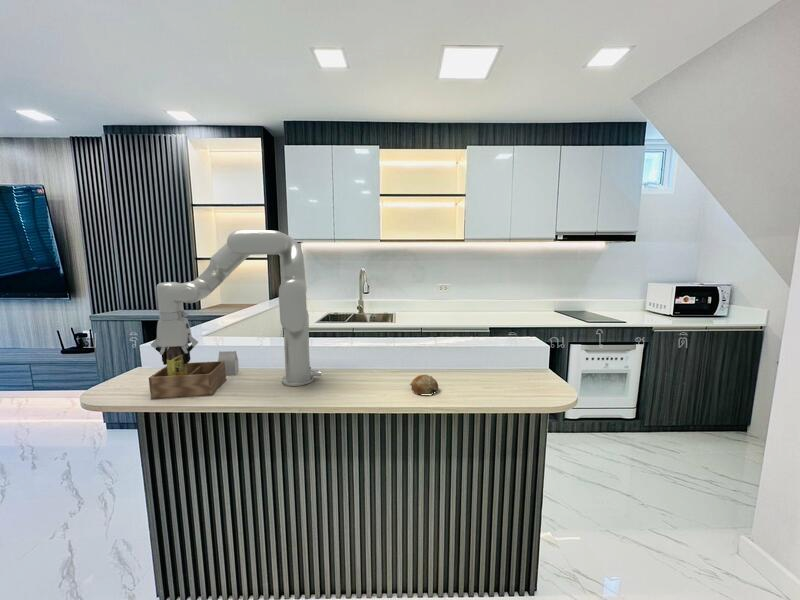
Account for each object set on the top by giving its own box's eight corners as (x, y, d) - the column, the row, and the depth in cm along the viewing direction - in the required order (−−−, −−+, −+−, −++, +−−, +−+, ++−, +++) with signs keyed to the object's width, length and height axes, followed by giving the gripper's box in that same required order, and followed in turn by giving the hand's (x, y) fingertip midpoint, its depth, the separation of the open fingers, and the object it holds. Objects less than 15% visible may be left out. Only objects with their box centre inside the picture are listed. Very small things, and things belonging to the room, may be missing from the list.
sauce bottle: (178, 388, 122) (173, 336, 119) (164, 387, 123) (158, 335, 120) (193, 381, 128) (188, 331, 125) (179, 380, 130) (174, 330, 127)
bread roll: (422, 406, 122) (430, 390, 118) (403, 388, 127) (410, 372, 124) (438, 398, 129) (446, 382, 126) (419, 380, 135) (426, 365, 131)
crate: (226, 380, 136) (224, 361, 135) (212, 395, 121) (210, 374, 120) (172, 382, 132) (170, 363, 131) (150, 399, 118) (148, 377, 117)
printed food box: (235, 375, 141) (233, 352, 139) (218, 375, 140) (217, 352, 139) (238, 372, 145) (237, 350, 143) (222, 372, 144) (221, 350, 143)
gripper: (201, 313, 127) (205, 358, 130) (151, 314, 124) (156, 361, 127) (193, 317, 120) (197, 365, 122) (139, 318, 117) (145, 368, 119)
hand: (176, 362), depth 125 cm, fingers closed on sauce bottle, 6 cm apart
